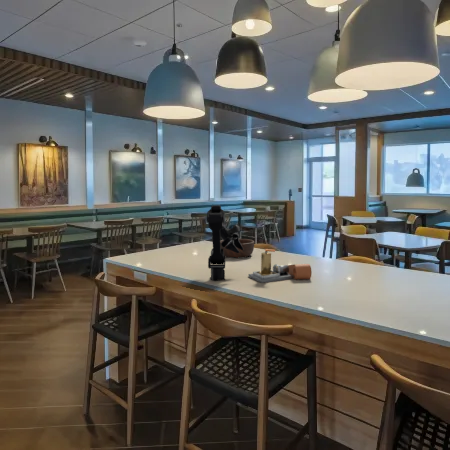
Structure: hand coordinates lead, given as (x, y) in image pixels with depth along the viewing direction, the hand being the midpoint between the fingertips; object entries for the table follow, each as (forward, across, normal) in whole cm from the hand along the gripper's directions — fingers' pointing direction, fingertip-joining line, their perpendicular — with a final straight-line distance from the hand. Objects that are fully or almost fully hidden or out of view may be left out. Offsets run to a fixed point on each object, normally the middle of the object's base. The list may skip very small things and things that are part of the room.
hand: (240, 251), depth 211 cm
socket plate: (+22, -2, -2) cm, 22 cm away
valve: (+19, -4, -2) cm, 19 cm away
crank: (+32, +6, -12) cm, 34 cm away
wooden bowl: (-2, +56, +23) cm, 60 cm away
